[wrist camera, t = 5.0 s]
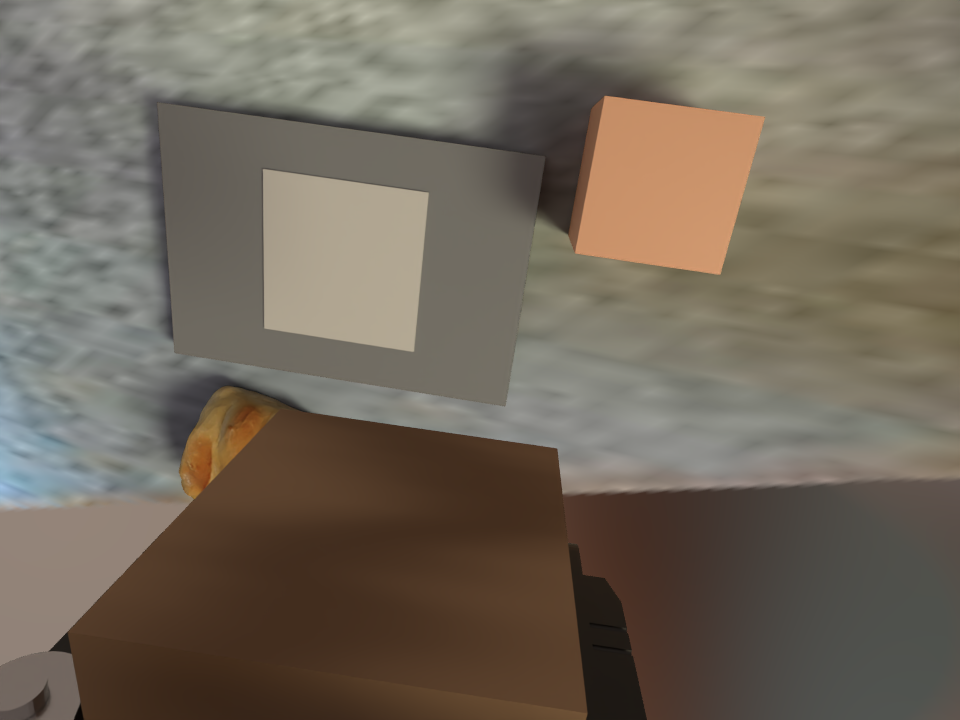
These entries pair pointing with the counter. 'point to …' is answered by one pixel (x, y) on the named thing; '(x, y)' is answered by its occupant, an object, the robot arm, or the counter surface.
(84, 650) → the walnut block
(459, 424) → the counter surface
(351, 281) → the plate
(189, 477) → the pastry
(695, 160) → the terracotta block
